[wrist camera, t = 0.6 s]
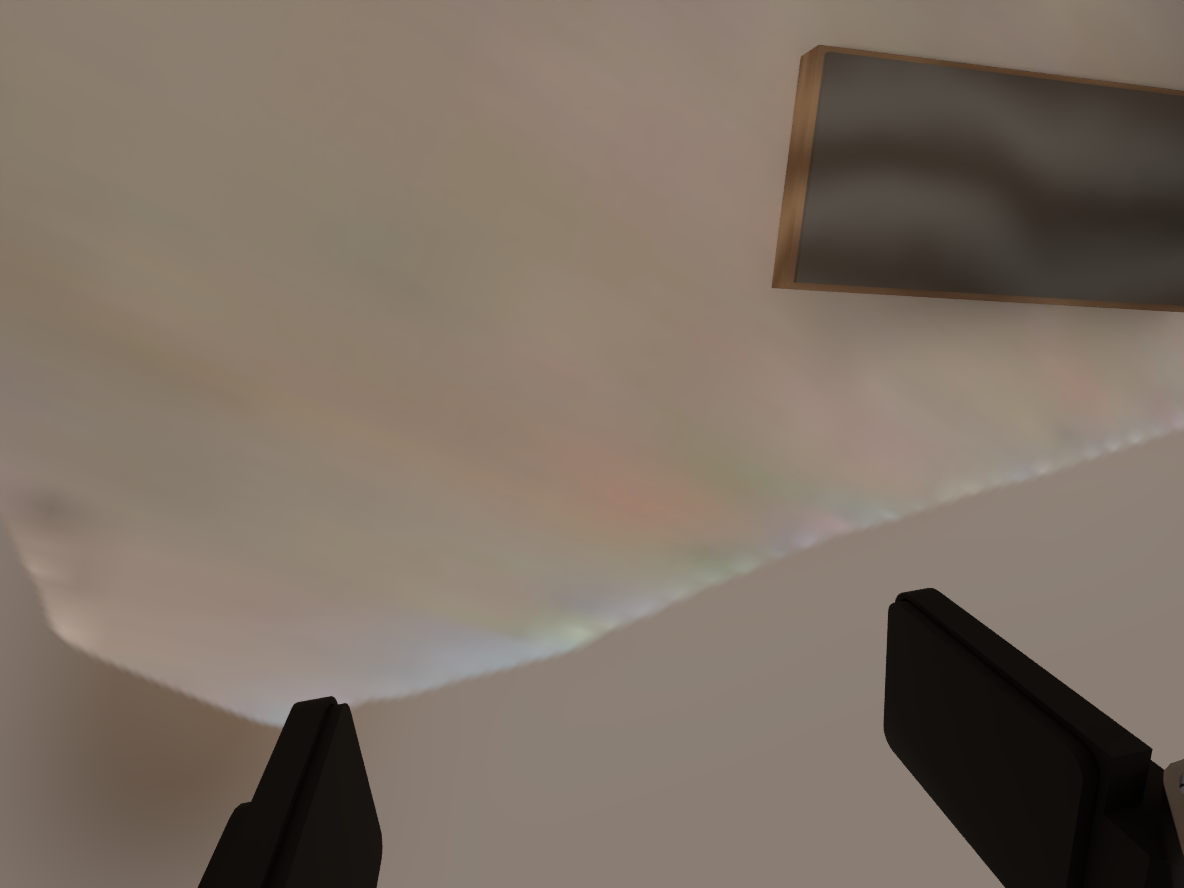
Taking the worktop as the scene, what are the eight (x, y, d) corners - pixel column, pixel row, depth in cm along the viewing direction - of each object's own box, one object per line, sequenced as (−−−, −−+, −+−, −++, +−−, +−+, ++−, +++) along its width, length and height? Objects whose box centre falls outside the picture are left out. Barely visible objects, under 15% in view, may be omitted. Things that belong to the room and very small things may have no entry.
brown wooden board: (800, 56, 37) (822, 42, 35) (1228, 109, 42) (1272, 99, 40) (771, 287, 40) (789, 289, 38) (1170, 311, 45) (1207, 313, 43)
